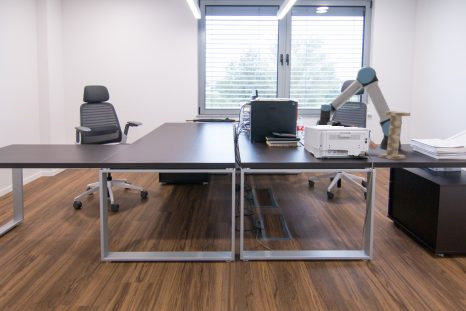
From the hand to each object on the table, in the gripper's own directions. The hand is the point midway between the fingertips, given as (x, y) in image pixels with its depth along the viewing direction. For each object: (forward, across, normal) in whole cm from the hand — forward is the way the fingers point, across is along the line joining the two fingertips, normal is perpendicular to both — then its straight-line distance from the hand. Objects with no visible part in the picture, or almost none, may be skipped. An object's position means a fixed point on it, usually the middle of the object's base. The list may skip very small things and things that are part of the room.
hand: (360, 130), depth 296 cm
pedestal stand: (+26, 0, -15) cm, 30 cm away
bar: (+2, 0, -6) cm, 6 cm away
